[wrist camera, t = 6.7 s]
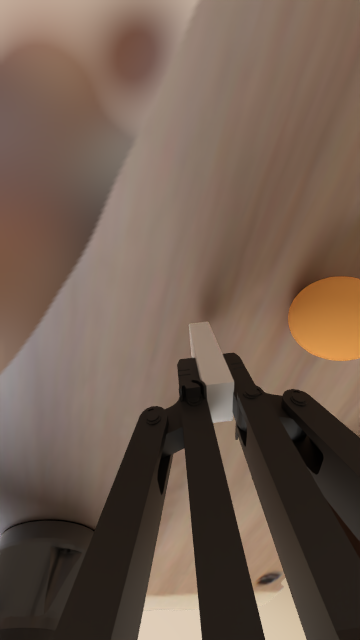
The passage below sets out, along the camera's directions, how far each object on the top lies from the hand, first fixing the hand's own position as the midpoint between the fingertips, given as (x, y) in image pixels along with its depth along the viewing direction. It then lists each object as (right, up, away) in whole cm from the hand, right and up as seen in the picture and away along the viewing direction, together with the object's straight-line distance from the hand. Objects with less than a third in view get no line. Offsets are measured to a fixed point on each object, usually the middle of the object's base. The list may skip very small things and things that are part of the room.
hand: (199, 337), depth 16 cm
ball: (+10, +1, -1) cm, 10 cm away
